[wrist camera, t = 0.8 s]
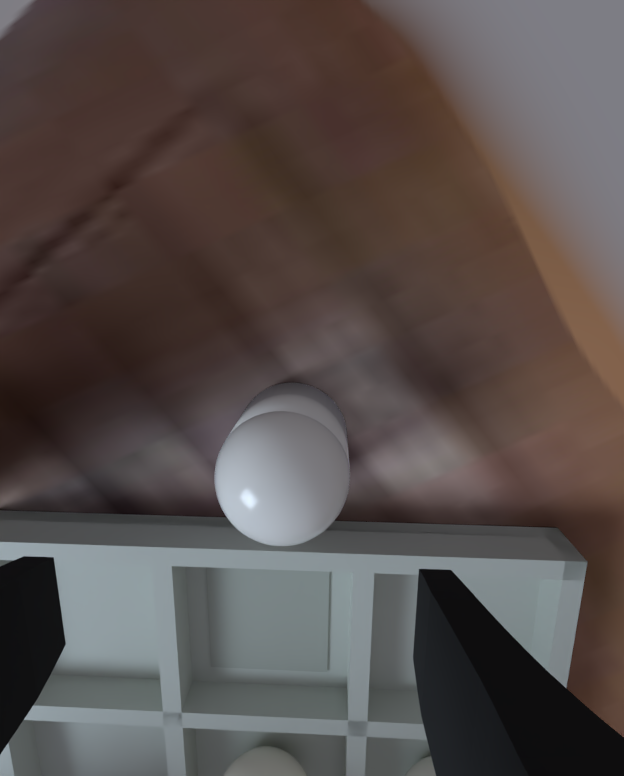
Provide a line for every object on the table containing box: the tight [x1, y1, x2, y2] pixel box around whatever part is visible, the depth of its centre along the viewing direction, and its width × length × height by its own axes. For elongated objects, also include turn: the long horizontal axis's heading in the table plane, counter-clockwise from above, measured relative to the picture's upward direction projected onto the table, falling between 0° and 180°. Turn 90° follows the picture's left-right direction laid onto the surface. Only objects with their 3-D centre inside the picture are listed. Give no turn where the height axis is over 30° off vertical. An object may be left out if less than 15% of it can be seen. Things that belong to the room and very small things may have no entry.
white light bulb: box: [215, 383, 350, 546], centre depth 16 cm, size 4×4×6 cm
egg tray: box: [0, 510, 587, 776], centre depth 21 cm, size 16×24×2 cm
